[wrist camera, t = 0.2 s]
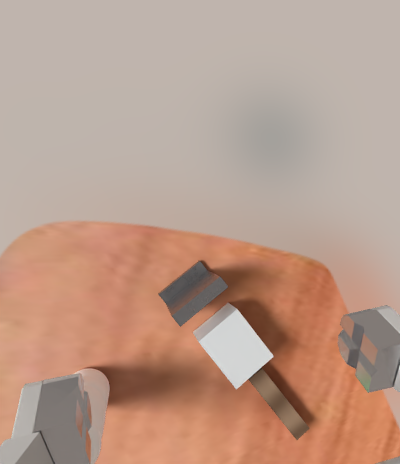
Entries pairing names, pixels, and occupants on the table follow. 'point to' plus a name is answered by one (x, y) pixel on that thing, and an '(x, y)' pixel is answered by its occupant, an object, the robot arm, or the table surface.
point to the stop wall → (192, 292)
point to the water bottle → (96, 406)
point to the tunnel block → (233, 345)
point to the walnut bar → (278, 403)
